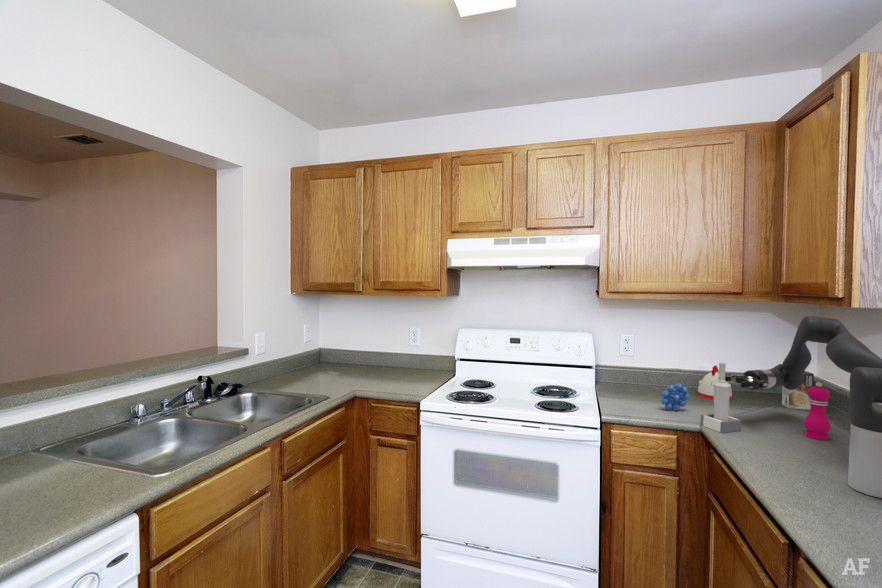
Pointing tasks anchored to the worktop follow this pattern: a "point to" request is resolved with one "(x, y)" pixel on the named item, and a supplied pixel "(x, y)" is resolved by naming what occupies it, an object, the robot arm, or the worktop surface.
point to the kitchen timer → (710, 384)
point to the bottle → (721, 396)
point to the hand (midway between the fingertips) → (730, 382)
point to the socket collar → (721, 423)
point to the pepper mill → (817, 413)
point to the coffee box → (798, 394)
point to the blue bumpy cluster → (675, 397)
